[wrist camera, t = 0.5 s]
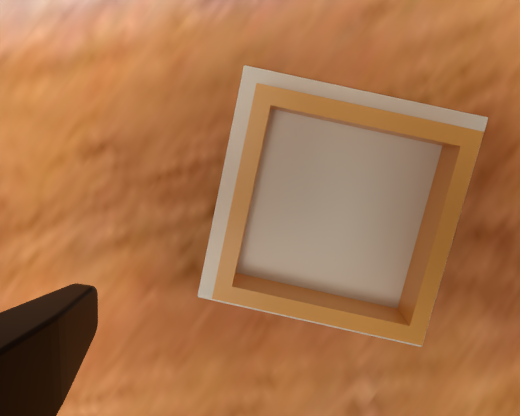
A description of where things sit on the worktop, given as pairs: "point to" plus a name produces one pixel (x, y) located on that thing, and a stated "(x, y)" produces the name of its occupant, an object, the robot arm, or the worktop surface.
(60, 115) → the worktop surface
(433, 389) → the worktop surface
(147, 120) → the worktop surface
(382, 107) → the collar socket
